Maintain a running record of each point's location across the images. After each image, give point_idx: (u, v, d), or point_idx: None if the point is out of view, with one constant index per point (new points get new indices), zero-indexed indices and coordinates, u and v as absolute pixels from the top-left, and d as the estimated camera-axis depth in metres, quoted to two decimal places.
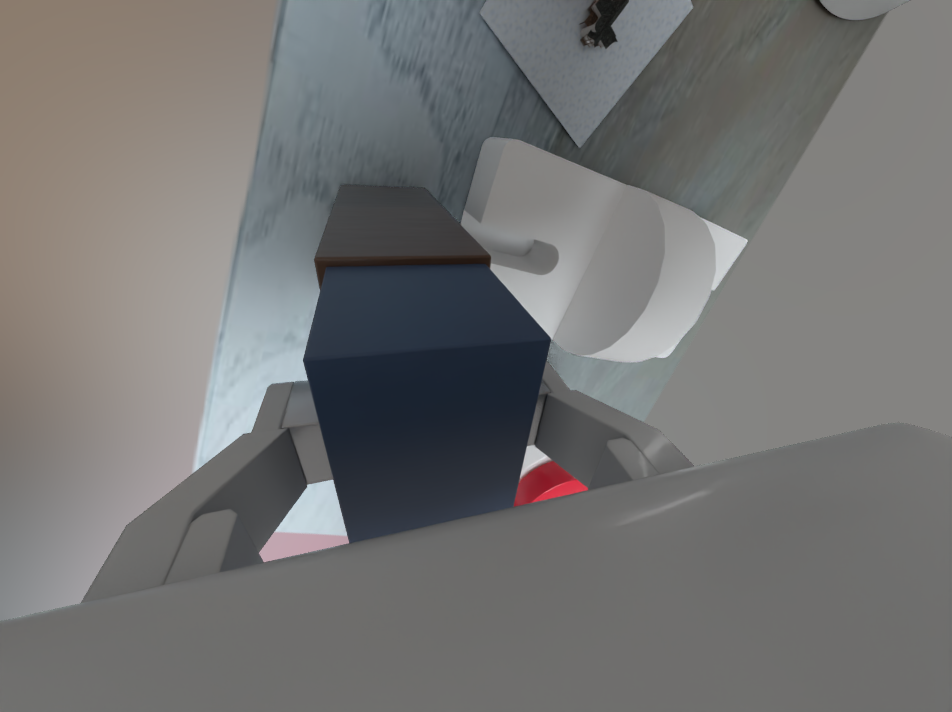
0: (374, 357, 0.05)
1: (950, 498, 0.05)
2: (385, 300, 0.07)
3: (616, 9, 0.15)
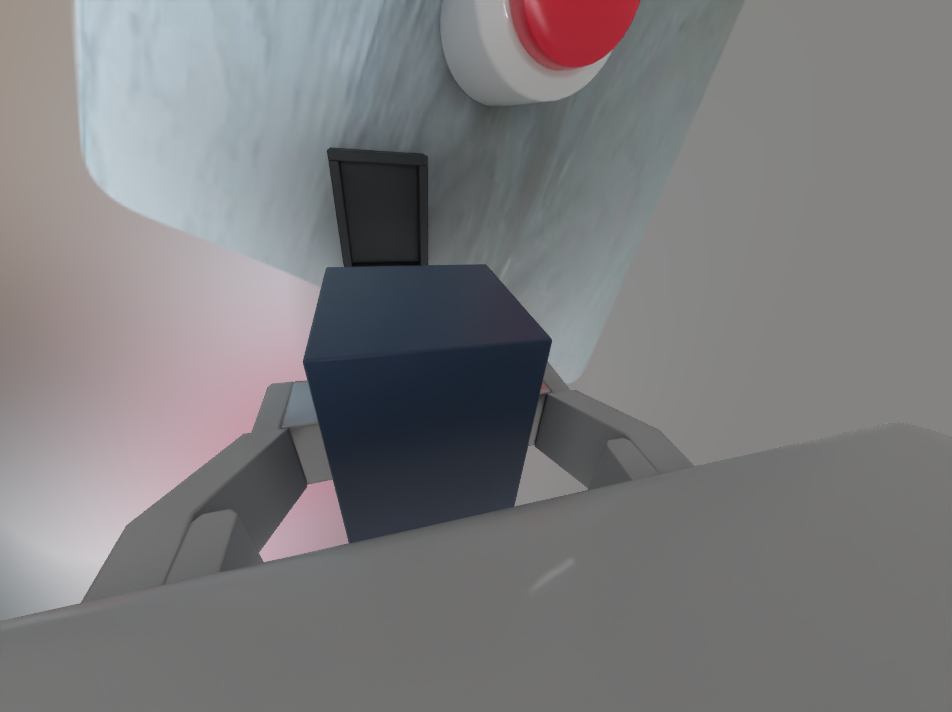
0: (374, 359, 0.05)
1: (950, 498, 0.05)
2: (385, 301, 0.07)
3: None
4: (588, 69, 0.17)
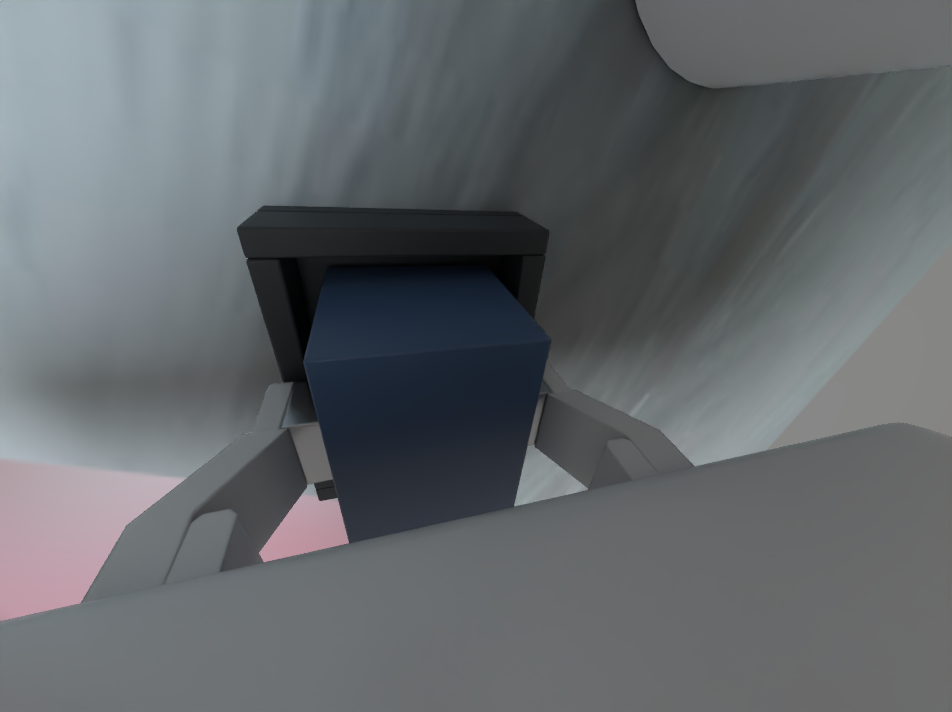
0: (375, 359, 0.05)
1: (950, 498, 0.05)
2: (385, 301, 0.07)
3: None
4: None
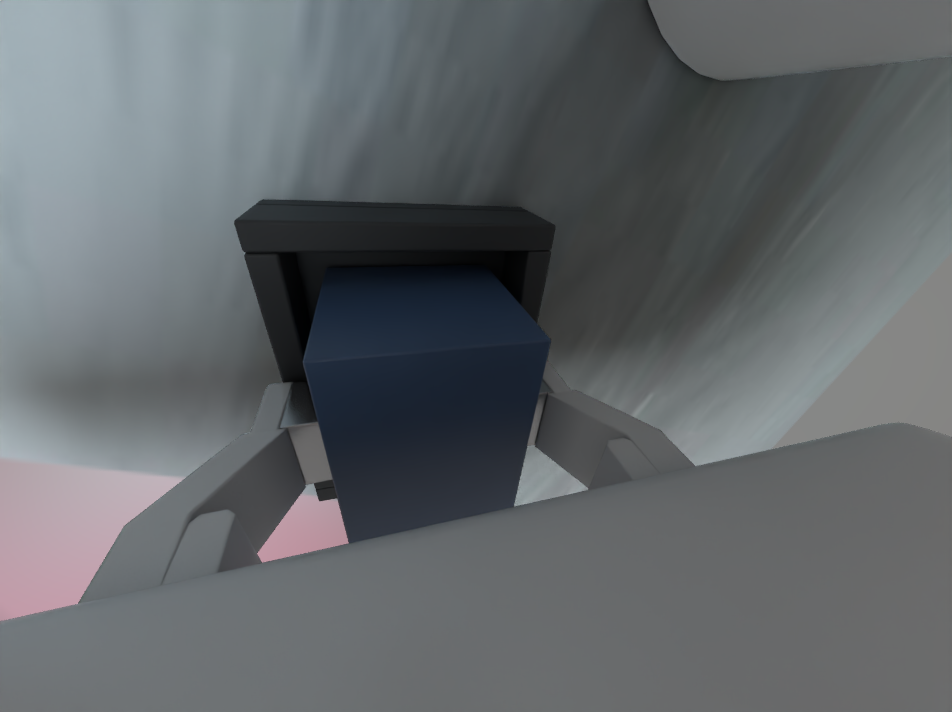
0: (374, 359, 0.05)
1: (950, 498, 0.05)
2: (384, 301, 0.07)
3: None
4: None
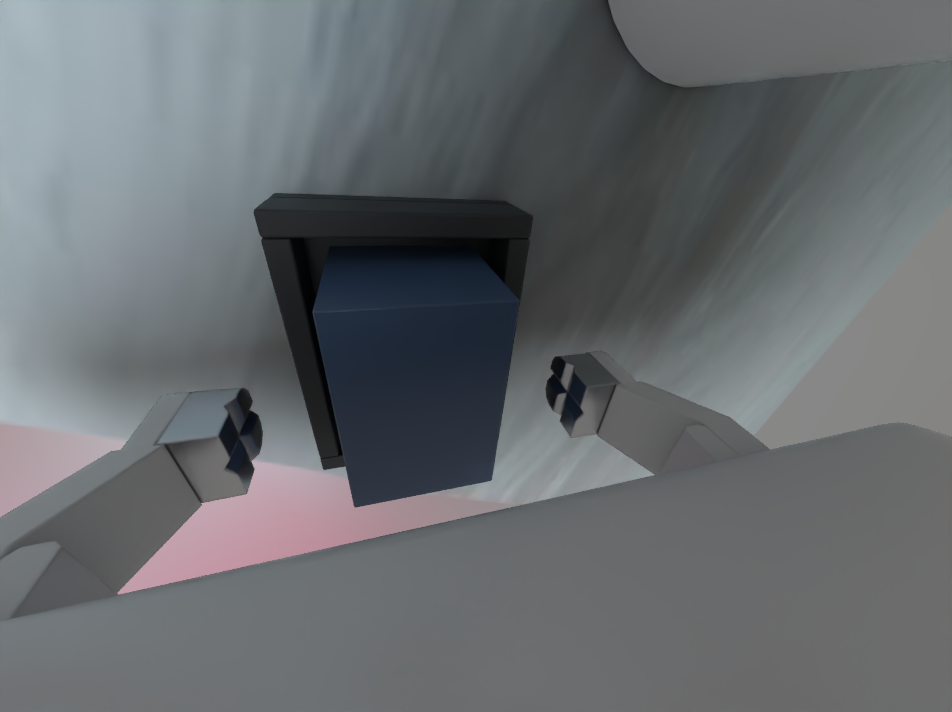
0: (371, 311, 0.06)
1: (950, 498, 0.05)
2: (380, 272, 0.08)
3: None
4: None
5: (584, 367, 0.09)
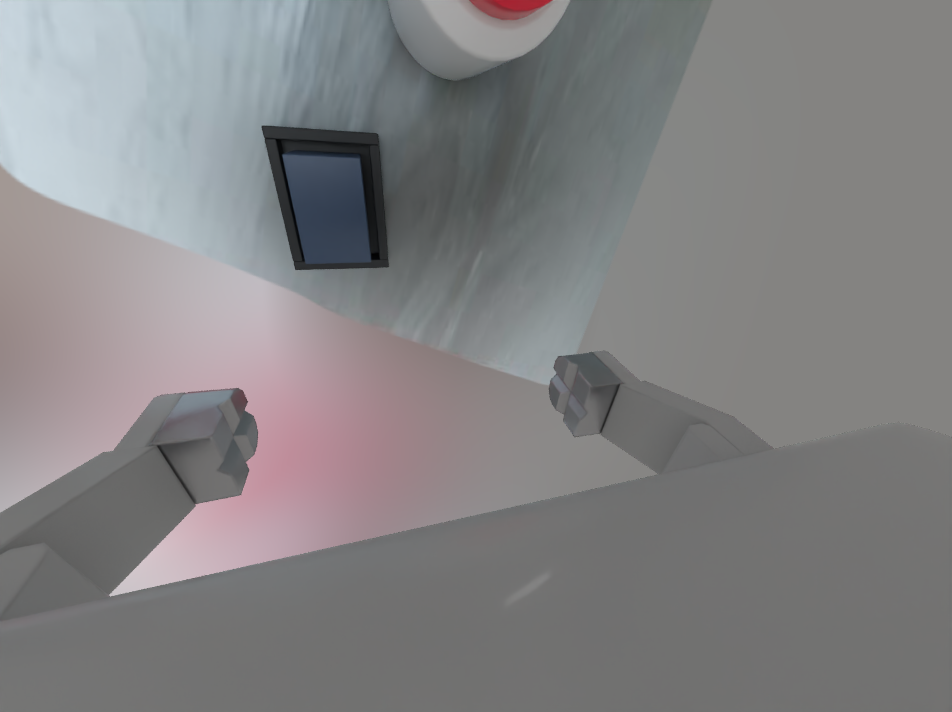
0: (302, 156, 0.18)
1: (950, 498, 0.05)
2: (311, 153, 0.20)
3: None
4: (542, 21, 0.14)
5: (588, 367, 0.09)
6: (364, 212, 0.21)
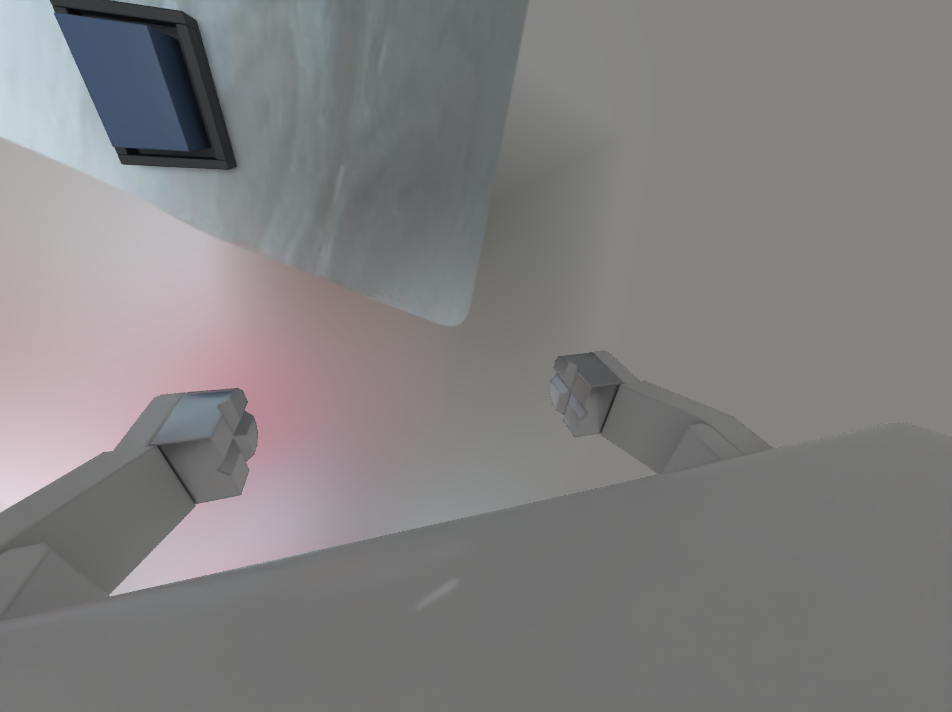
0: (78, 17, 0.18)
1: (950, 498, 0.05)
2: None
3: None
4: None
5: (588, 367, 0.09)
6: (167, 91, 0.20)
